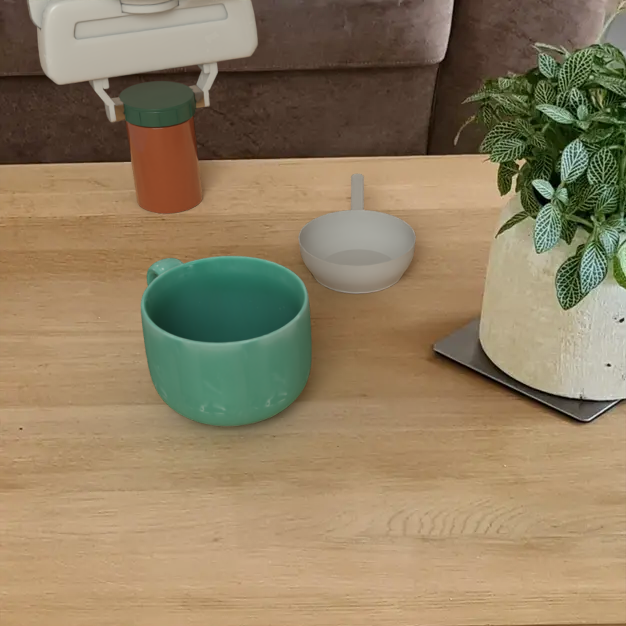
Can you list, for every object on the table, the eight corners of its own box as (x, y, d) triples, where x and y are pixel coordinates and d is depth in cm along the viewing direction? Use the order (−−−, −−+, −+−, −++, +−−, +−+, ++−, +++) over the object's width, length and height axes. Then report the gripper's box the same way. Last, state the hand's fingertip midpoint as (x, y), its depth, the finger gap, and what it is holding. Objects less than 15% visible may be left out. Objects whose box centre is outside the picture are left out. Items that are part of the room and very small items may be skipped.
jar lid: (133, 132, 110) (130, 114, 109) (113, 105, 115) (110, 87, 114) (205, 119, 113) (203, 102, 112) (182, 94, 118) (180, 76, 116)
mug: (344, 412, 92) (341, 309, 86) (199, 469, 86) (185, 362, 80) (243, 318, 102) (234, 220, 96) (108, 363, 96) (89, 262, 90)
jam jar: (147, 218, 116) (132, 116, 109) (129, 191, 121) (114, 91, 114) (211, 206, 119) (200, 105, 112) (191, 179, 123) (179, 81, 116)
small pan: (297, 300, 105) (295, 262, 102) (305, 207, 119) (303, 172, 116) (417, 299, 105) (418, 262, 103) (410, 207, 119) (411, 173, 117)
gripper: (30, -11, 99) (59, 142, 108) (258, -38, 107) (268, 107, 115) (14, -32, 103) (44, 117, 112) (234, -56, 111) (246, 85, 120)
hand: (159, 112), depth 114 cm, fingers closed on jar lid, 7 cm apart
